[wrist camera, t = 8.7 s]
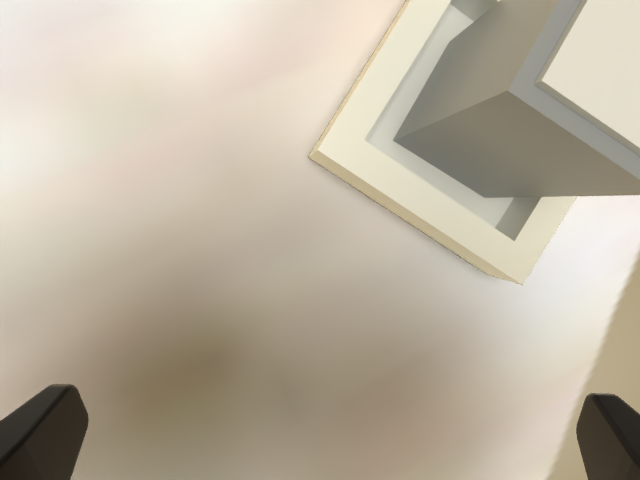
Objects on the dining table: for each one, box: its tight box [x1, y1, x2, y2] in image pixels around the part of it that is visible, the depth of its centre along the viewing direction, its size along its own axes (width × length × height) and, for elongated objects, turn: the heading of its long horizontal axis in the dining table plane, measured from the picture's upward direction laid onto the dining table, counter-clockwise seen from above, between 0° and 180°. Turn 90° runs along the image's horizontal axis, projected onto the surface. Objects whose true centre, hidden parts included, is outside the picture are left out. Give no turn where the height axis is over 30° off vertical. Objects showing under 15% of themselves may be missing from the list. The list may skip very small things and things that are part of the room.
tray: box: [309, 0, 577, 285], centre depth 20 cm, size 9×9×3 cm
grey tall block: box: [393, 0, 640, 198], centre depth 16 cm, size 4×4×9 cm
